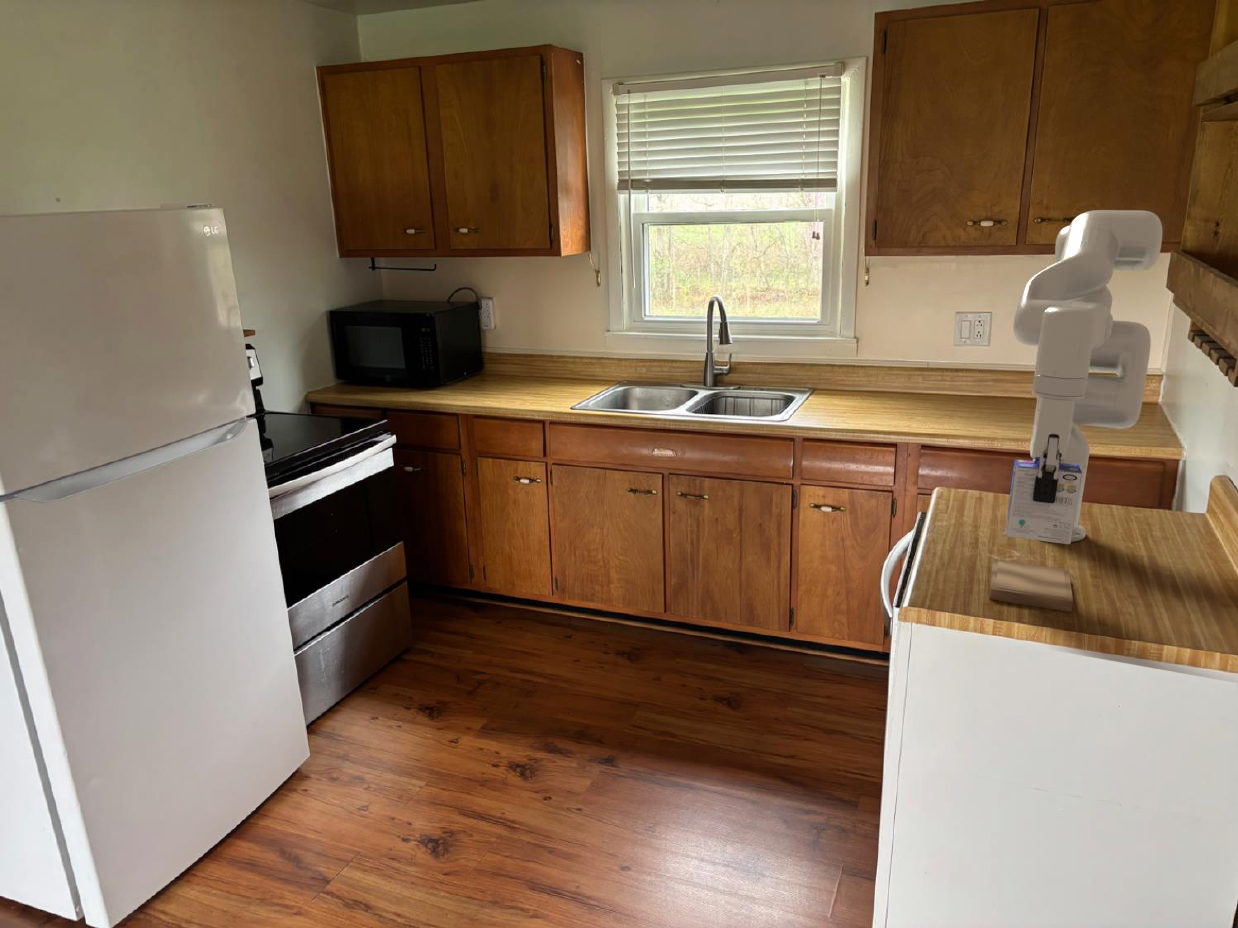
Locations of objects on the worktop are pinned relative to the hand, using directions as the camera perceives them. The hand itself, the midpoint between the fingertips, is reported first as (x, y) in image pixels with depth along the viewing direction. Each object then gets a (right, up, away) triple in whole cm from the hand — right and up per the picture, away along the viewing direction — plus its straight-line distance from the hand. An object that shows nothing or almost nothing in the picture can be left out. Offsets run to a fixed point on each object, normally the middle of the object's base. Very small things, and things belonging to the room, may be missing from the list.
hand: (1043, 495), depth 144 cm
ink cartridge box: (0, -7, +2) cm, 7 cm away
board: (0, -16, +5) cm, 16 cm away
